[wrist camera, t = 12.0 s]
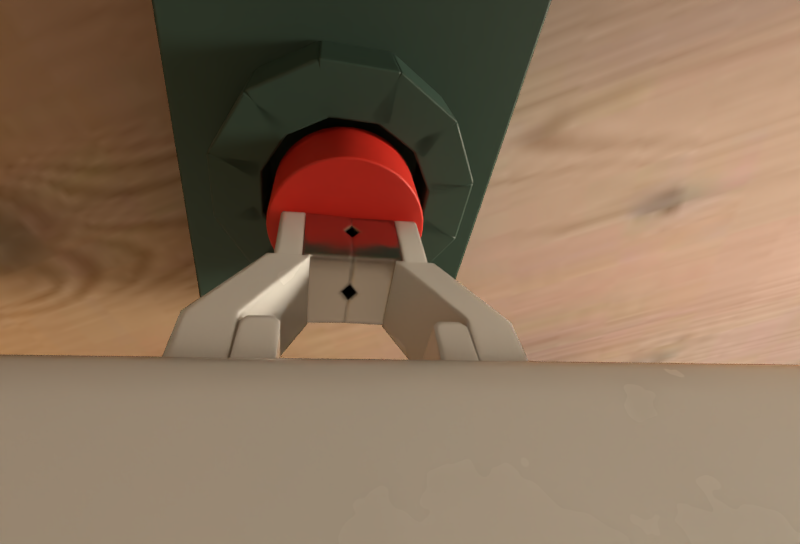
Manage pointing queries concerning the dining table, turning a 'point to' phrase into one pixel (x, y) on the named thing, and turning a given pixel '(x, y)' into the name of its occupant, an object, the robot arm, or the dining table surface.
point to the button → (344, 179)
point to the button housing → (338, 104)
